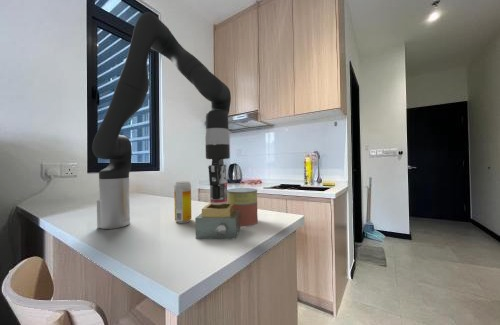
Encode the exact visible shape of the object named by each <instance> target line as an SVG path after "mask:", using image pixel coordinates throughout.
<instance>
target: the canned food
mask: <svg viewBox="0 0 500 325" xmlns="http://www.w3.org/2000/svg"><path fill="white" fill-rule="evenodd" d="M227 203H234V210H240V228H244V227H246V228H247V227H252V226H255V225H258V223H259V220H258V189H257V188H254V187H253V188H250V187H236V188H229V189H228V188H227Z"/></svg>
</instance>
